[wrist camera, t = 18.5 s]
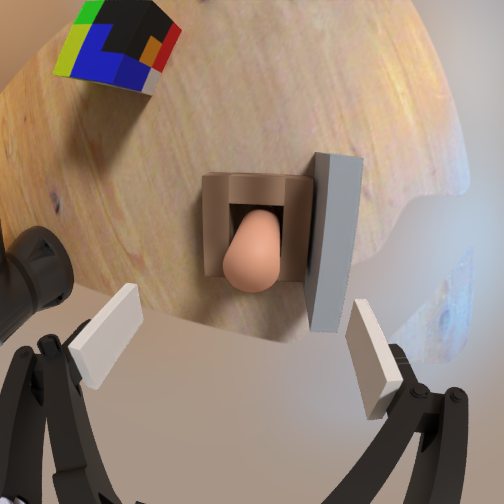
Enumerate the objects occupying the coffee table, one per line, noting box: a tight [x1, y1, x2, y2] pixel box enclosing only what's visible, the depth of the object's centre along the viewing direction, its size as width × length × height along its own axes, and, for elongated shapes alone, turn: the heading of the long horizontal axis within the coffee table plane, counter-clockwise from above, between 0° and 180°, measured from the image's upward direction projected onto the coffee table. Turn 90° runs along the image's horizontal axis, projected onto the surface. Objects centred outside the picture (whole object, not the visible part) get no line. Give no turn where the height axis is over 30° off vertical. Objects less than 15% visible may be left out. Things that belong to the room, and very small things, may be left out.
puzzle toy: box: [52, 0, 182, 96], centre depth 24 cm, size 10×10×10 cm
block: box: [202, 172, 314, 282], centre depth 33 cm, size 12×12×4 cm
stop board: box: [304, 152, 363, 333], centre depth 30 cm, size 3×18×10 cm, turn 178°
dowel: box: [223, 204, 280, 293], centre depth 29 cm, size 4×4×14 cm
